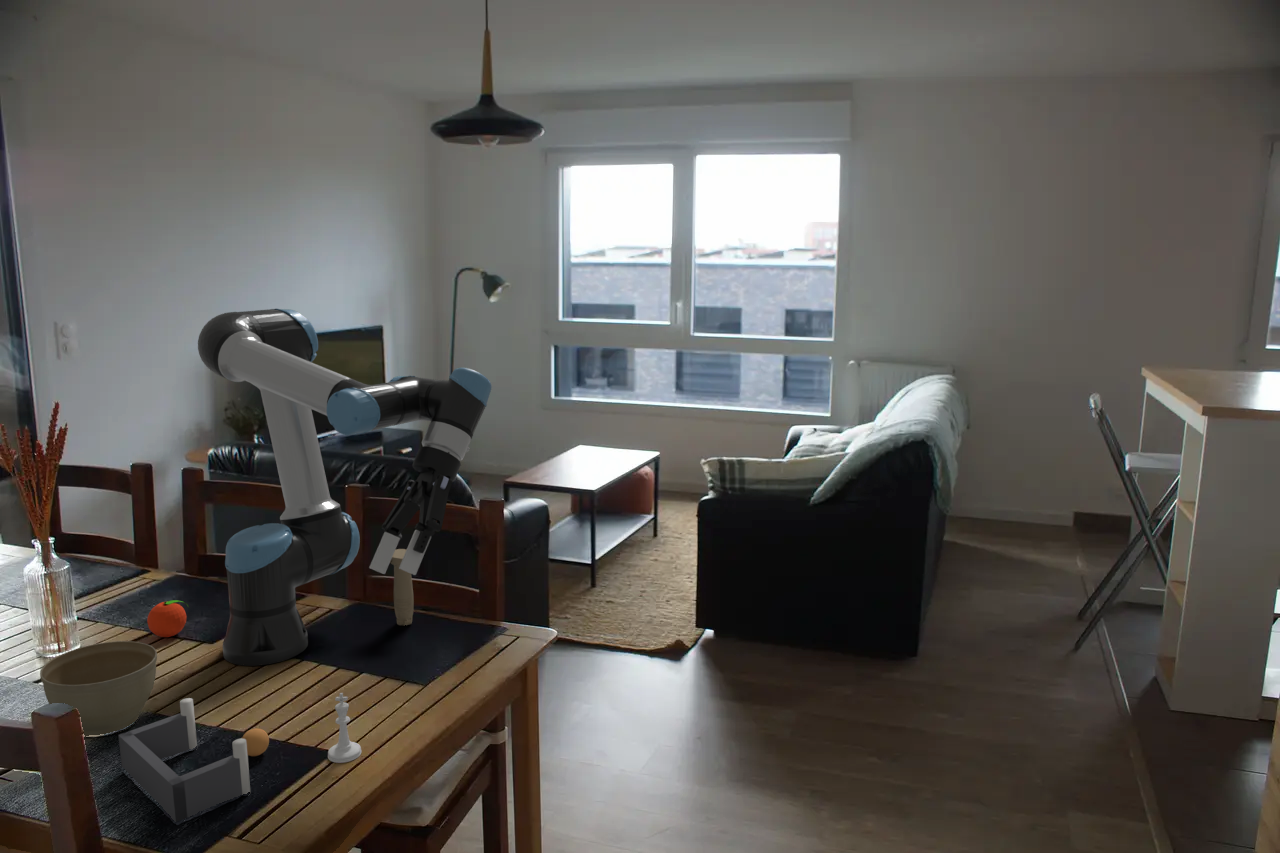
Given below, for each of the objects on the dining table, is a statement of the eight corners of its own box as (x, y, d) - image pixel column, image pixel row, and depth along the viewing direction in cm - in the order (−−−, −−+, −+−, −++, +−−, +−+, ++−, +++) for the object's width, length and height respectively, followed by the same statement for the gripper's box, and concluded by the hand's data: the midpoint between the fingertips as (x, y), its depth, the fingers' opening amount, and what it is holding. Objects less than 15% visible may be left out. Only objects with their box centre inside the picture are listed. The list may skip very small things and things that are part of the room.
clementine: (181, 624, 189) (178, 591, 188) (200, 632, 185) (197, 598, 184) (142, 637, 182) (138, 603, 181) (160, 646, 178) (156, 611, 177)
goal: (194, 744, 143) (189, 696, 142) (252, 793, 131) (248, 741, 129) (122, 772, 136) (116, 722, 134) (176, 826, 123) (171, 772, 122)
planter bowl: (82, 761, 138) (74, 694, 136) (27, 731, 147) (19, 667, 145) (183, 716, 152) (177, 654, 150) (128, 691, 160) (122, 632, 158)
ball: (235, 757, 140) (233, 733, 139) (257, 744, 143) (255, 721, 143) (254, 763, 138) (252, 739, 137) (275, 751, 142) (273, 727, 141)
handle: (402, 631, 186) (399, 560, 183) (386, 622, 191) (382, 552, 188) (423, 624, 190) (420, 554, 187) (406, 615, 194) (403, 547, 191)
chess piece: (332, 746, 143) (328, 686, 141) (364, 745, 144) (361, 685, 142) (324, 763, 138) (320, 701, 137) (357, 762, 139) (354, 700, 137)
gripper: (492, 456, 149) (442, 581, 142) (431, 469, 169) (384, 578, 162) (452, 436, 145) (399, 562, 138) (395, 451, 166) (345, 562, 158)
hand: (391, 571), depth 150 cm, fingers open, 13 cm apart
